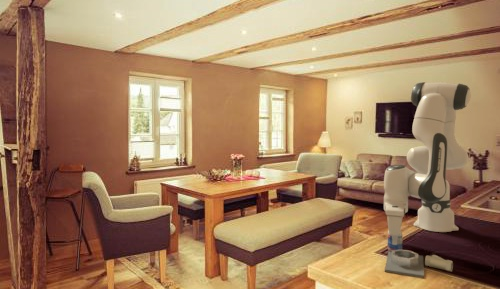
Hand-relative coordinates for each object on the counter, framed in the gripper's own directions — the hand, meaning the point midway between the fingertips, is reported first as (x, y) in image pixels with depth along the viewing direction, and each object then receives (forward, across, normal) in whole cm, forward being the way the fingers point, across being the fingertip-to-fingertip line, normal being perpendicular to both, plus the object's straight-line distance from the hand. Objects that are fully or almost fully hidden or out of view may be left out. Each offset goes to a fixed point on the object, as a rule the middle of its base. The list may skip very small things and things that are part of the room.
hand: (395, 240), depth 137 cm
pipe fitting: (+4, +11, +15) cm, 19 cm away
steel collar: (+4, +14, +4) cm, 15 cm away
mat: (+4, +14, +4) cm, 15 cm away
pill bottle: (+4, 0, 0) cm, 4 cm away
